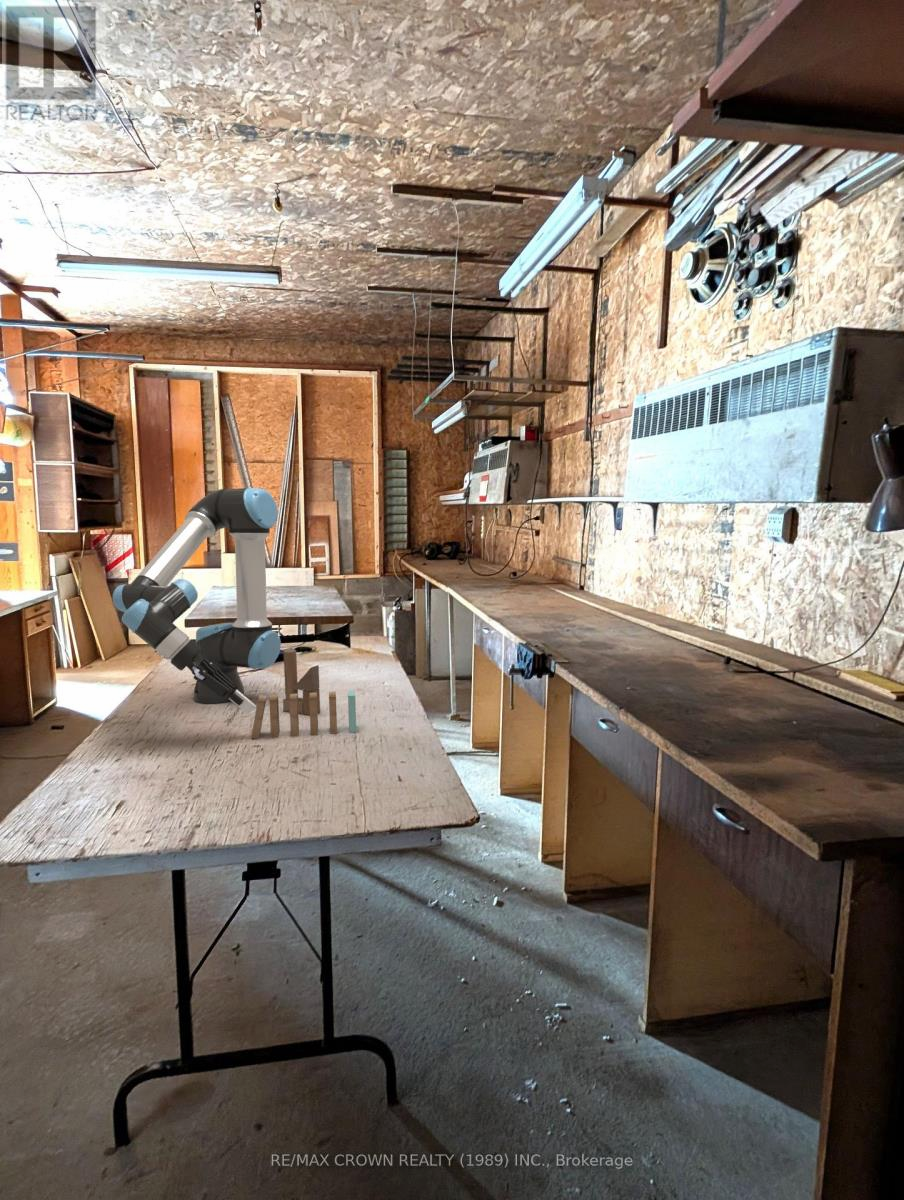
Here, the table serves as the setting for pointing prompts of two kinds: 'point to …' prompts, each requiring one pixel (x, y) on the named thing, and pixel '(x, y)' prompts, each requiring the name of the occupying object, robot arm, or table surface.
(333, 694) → the domino
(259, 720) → the domino
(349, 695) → the domino
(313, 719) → the domino
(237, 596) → the robot arm
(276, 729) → the domino
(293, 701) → the domino
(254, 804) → the table surface
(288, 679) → the wooden block
